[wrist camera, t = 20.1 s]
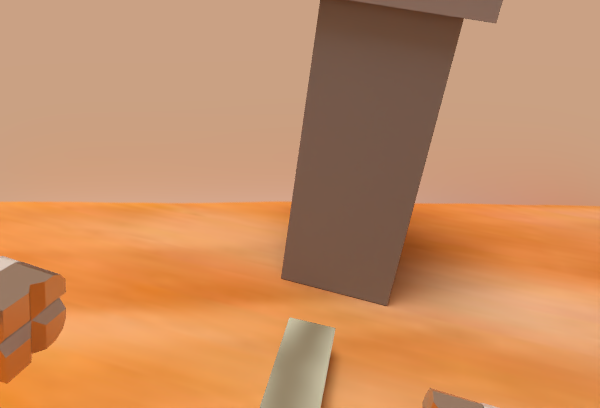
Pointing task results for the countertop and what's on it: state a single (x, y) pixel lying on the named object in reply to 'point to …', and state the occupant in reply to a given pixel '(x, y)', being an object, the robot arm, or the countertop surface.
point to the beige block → (300, 366)
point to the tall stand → (369, 137)
